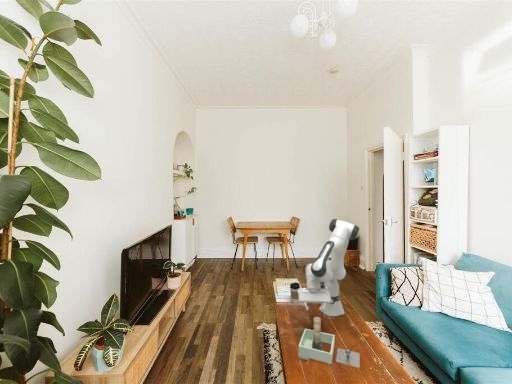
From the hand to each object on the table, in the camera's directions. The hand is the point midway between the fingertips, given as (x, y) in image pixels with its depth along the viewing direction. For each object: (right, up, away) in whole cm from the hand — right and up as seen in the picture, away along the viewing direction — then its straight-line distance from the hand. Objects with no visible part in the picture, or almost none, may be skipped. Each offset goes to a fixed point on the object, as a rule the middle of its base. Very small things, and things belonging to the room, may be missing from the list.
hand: (315, 310), depth 152 cm
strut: (-1, -19, -9) cm, 21 cm away
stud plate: (+15, -20, -15) cm, 29 cm away
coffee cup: (-4, -19, +53) cm, 56 cm away
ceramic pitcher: (+17, -18, +71) cm, 75 cm away
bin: (-1, -20, -9) cm, 22 cm away
